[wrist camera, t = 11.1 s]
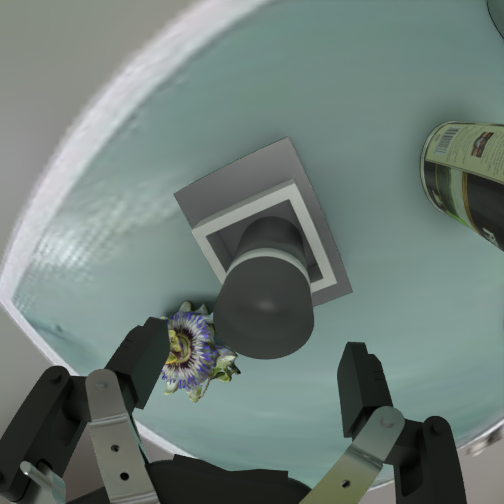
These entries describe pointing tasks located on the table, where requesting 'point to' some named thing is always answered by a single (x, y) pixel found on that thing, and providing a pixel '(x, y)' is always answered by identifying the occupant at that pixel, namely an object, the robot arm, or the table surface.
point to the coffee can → (467, 175)
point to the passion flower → (195, 352)
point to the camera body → (263, 214)
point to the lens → (266, 293)
